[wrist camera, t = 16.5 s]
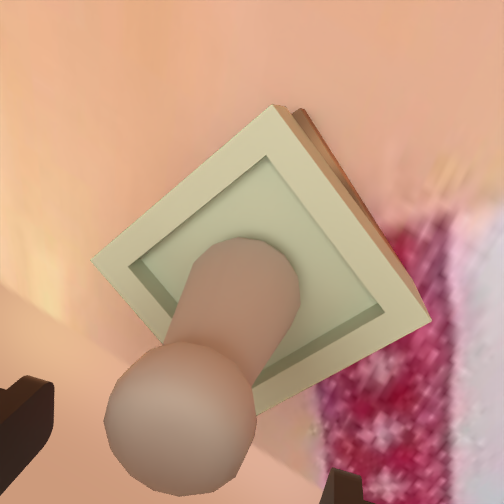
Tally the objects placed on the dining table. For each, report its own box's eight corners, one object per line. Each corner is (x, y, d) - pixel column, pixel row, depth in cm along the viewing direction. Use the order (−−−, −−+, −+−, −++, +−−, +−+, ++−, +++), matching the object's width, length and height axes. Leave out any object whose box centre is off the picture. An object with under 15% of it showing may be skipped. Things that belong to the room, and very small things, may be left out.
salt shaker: (251, 341, 24) (172, 564, 12) (181, 273, 24) (26, 435, 12) (325, 280, 22) (321, 473, 10) (251, 204, 22) (153, 312, 10)
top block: (412, 279, 25) (432, 321, 20) (251, 373, 30) (234, 427, 25) (285, 106, 24) (271, 104, 19) (134, 233, 28) (89, 260, 23)
